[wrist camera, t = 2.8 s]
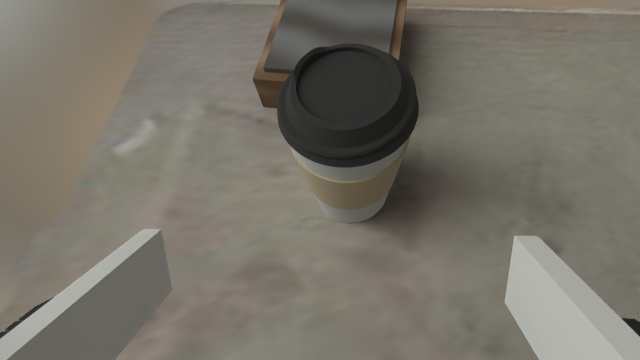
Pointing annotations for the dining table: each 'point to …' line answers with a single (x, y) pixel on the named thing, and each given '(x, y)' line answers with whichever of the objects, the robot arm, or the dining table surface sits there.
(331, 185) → the coffee cup
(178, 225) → the dining table surface
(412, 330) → the dining table surface
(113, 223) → the dining table surface
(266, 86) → the walnut block
